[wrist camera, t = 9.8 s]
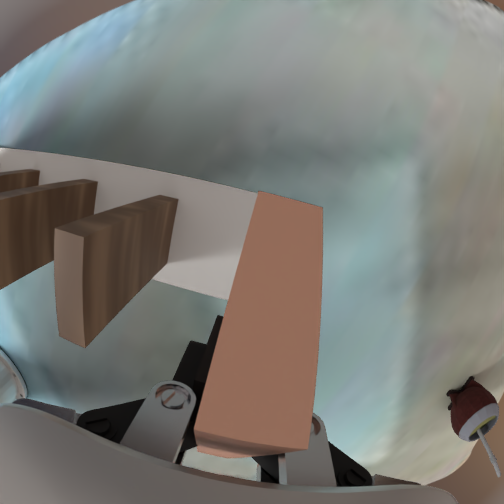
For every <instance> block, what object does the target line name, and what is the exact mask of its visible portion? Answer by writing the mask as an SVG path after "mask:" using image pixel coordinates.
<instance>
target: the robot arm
mask: <svg viewBox="0 0 504 504" xmlns="http://www.w3.org/2000/svg"><path fill="white" fill-rule="evenodd" d="M222 321H223V316H219V315H217V318H216V321H215V324H214V326H213V329H212V332H211V335H210V337H209V340H208V343H207V345H206V344H202V343H199V342H195V341H192V340H191V341H190V342H189V344H188V347H187V349H186V351H185V353H184V355H183V358H182V360H181V362H180V364H179V367H178V369H177V371H176V373H175V376H174V378H173V380H172V381H162V382H159V383H157V384H155V385H154V386H153V388H152V389H151V391H150V392H149V394H148V396H147V397H146V398H145V399H141V400H136V401H132V402H128V403H123V404H119V405H114V406H110V407H105V408H100V409H94V410H90V411H87V412H85V413H83V414H78V413H76V411H75V410H73V409H68V408H63V407H59V406H54V405H50V404H46V403H42V402H38V401H35V400H31V399H26V397H27V388H26V385H25V382H24V380H23V378H22V376H21V374H20V373H19V371H18V370H17V368H16V367H15V365H14V364H13V362H12V361H11V360H10V359H9V357H8V356H7V355H6V354H5V353H4V352H3V351H2V350H1V349H0V504H459V503H458V502H457V501H456V499H455V498H454V497H453V495H452V494H450V493H449V492H447V491H445V490H442V489H439V488H435V487H430V486H424V485H421V484H419V483H416V482H411V481H405V480H400V479H395V478H391V477H386V476H382V475H378V474H375V475H374V476H371V475H370V473H369V472H368V471H367V470H366V469H365V468H364V467H362V466H361V465H359V464H358V463H357V462H355V461H354V460H353V459H351V458H350V457H349V456H347V455H346V454H344V453H343V452H342V451H341V450H339V449H338V448H337V447H335V446H334V445H333V444H331V443H330V442H329V441H328V439H327V434H326V429H325V425H324V423H323V421H322V420H321V419H320V417H319V416H317V415H316V414H315V413H313V414H312V422H311V430H310V437H309V445H308V449H307V450H301V451H295V452H289V453H281V454H274V455H265V456H252V458H253V459H254V460H255V461H256V462H257V463H258V465H257V481H252V480H245V479H239V478H234V477H228V476H223V475H218V474H214V473H209V472H205V471H201V470H197V469H193V468H189V467H185V466H182V463H183V460H184V457H185V454H186V450H188V449H191V448H194V447H196V446H198V445H197V444H196V439H195V434H194V426H195V423H196V419H197V415H198V411H199V407H200V403H201V400H202V396H203V392H204V388H205V384H206V381H207V377H208V373H209V369H210V366H211V362H212V358H213V354H214V351H215V347H216V343H217V339H218V336H219V332H220V328H221V325H222Z"/></svg>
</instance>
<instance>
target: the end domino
mask: <svg viewBox="0 0 504 504" xmlns="http://www.w3.org/2000/svg"><path fill="white" fill-rule="evenodd" d="M322 265H323V208H322V207H319V206H315V205H312V204H308V203H304V202H301V201H297V200H293V199H289V198H285V197H282V196H278V195H274V194H270V193H266V192H262V191H258V195H257V198H256V202H255V205H254V209H253V212H252V216H251V220H250V223H249V227H248V230H247V234H246V237H245V241H244V245H243V248H242V252H241V255H240V259H239V263H238V266H237V270H236V273H235V277H234V281H233V284H232V288H231V292H230V295H229V299H228V303H227V306H226V310H225V314H224V317H223V321H222V325H221V328H220V332H219V336H218V339H217V343H216V347H215V351H214V354H213V358H212V362H211V366H210V369H209V373H208V377H207V381H206V384H205V388H204V392H203V396H202V400H201V403H200V407H199V411H198V415H197V419H196V423H195V426H194V434H195V439H196V444H197V445H198V446H197V450H198V452H201V453H206V454H210V455H214V456H219V457H223V458H241V457H252V456H265V455H274V454H281V453H289V452H295V451H301V450H307V449H308V445H309V437H310V430H311V422H312V414H313V405H314V396H315V386H316V375H317V363H318V351H319V336H320V319H321V298H322Z"/></svg>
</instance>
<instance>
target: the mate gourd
mask: <svg viewBox="0 0 504 504" xmlns="http://www.w3.org/2000/svg"><path fill="white" fill-rule="evenodd" d="M446 395H447V396H449V397H450V398H451V401H452V403H451V404H450V405H449V407H448V410H451V423H452V428H453V430H454V432H455V433H456V434H457V435H458V436H459V438H461V439H463V440H465V441H469V442H470V441H475V440H477V439H479V438H480V439H481V441H482V443H483V444H484V446H485V448H486V450H487V453H488V454H489V457H490V461H491V463H493V465H494V468H495V470H496V473H497V476H498V477H500V476H501V473H500V470H499V467H498V464H497V462H496V460H497V459H496V458H495V456H494V455H493V453H492V451H491V449H490V447H489V445H488V443H487V441H486V439H485V437H484V435H485V434H486V433H487V432H488V431H489V430H491V428H492V427H493V426H494V425H495V423H496V422H497V420H498V415H499V406H498V404H497V401H496V399H495V398H494V396H493V395H492V394H491V393H490V392H489V391H487V390H486V389H485V388H484V387H483V386H482V385H480V384H479V383H477V382H476V381H474V377H473V376H470V378H469V379H468V380H467V382H466V383H465V385H464V386H463V387H462V389H461V390H459V391H456V390H449V391H448V392H447V394H446Z"/></svg>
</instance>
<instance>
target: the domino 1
mask: <svg viewBox="0 0 504 504" xmlns="http://www.w3.org/2000/svg"><path fill="white" fill-rule="evenodd" d="M39 176H40V170H34V169H24V170H15V171H7V172H0V193H1V192H6V191H11V190H16V189H21V188H27V187H32V186H38V185H39Z"/></svg>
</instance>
